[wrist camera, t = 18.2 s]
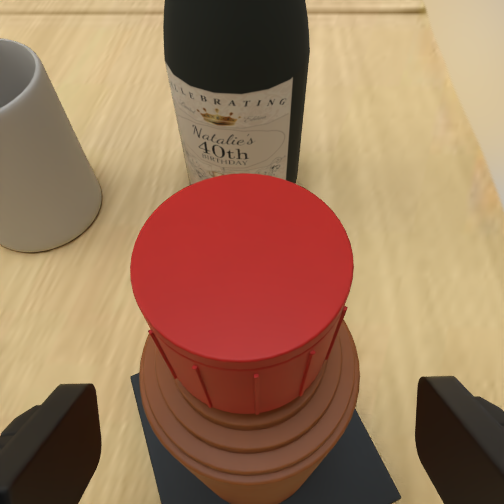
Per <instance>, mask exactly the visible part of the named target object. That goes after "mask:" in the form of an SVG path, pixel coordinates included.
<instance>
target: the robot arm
mask: <svg viewBox="0 0 504 504" xmlns="http://www.w3.org/2000/svg"><path fill="white" fill-rule="evenodd" d="M415 441H416V448H417V452H418V456H419V459H420V461H421V463H422V465H423V467H424V469H425V470H426V472H427V474H428V476H429V478H430V479H431V481H432V483H433V485H434V486H435V488H436V490H437V492H438V494H439V495H440V497H441V499H442V501H443V503H444V504H504V411H503V410H502V409H501V408H499V407H497V406H495V405H494V404H492V403H490V402H488V401H487V400H485V399H483V398H481V397H480V396H479V397H474V396H473V395H472V394H471V393H470V392H469V391H468V390H467V389H466V388H465V387H464V386H463V385H462V384H461V383H460V382H459V381H458V380H457V379H456V378H455V377H454V376H434V377H421V378H420V379H419V382H418V390H417V408H416V427H415ZM100 454H101V432H100V423H99V414H98V405H97V396H96V390H95V387H94V385H93V384H60V385H59V386H58V387H57V388H56V389H55V390H54V391H53V392H52V393H51V394H50V396H49V397H48V398H47V399H46V400H45V401H44V402H43V403H42V405H36V406H34V407H32V408H31V409H29V410H28V411H26V412H24V413H23V414H21V415H20V416H18V417H16V418H15V419H14V420H13V421H12V422H11V423H10V424H9V425H8V426H7V428H6V429H5V430H4V431H3V432H2V433H1V436H0V504H78V503H79V501H80V499H81V497H82V495H83V493H84V491H85V489H86V488H87V486H88V484H89V482H90V480H91V478H92V476H93V474H94V472H95V470H96V468H97V466H98V463H99V459H100Z"/></svg>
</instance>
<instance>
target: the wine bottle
mask: <svg viewBox="0 0 504 504" xmlns="http://www.w3.org/2000/svg"><path fill="white" fill-rule="evenodd" d="M163 28H164V54H165V64H166V69H167V73H168V78H169V83H170V88H171V93H172V98H173V103H174V108H175V113H176V117H177V122H178V127H179V132H180V137H181V142H182V147H183V152H184V157H185V162H186V166H187V171H188V176H189V181H190V185H192V184H194V183H197V182H199V181H202V180H205V179H208V178H212V177H216V176H221V175H228V174H240V173H249V174H261V175H269V176H273V177H277V178H281V179H284V180H287V181H290V182H292V183H296V179H297V172H298V162H299V153H300V143H301V133H302V123H303V113H304V103H305V93H306V83H307V73H308V63H309V53H310V47H309V29H308V17H307V10H306V3H305V0H165V6H164V26H163Z"/></svg>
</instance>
